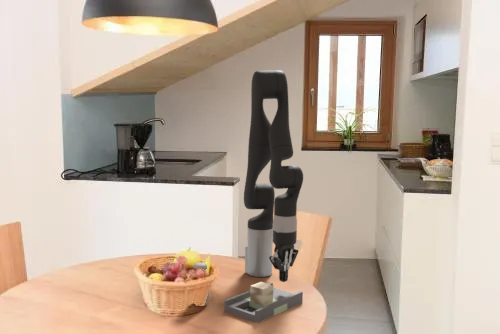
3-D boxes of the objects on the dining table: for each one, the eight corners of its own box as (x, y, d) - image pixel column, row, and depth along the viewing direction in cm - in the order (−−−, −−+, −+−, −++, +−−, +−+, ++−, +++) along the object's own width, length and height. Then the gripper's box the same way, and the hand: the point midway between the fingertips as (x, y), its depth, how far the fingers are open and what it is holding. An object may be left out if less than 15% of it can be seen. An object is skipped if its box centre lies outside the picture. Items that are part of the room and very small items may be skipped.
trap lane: (224, 311, 163) (224, 300, 163) (270, 292, 180) (270, 282, 179) (257, 323, 155) (257, 311, 154) (302, 302, 171) (302, 291, 171)
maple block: (250, 301, 166) (250, 285, 165) (260, 297, 170) (260, 281, 169) (262, 305, 163) (263, 289, 162) (273, 301, 166) (273, 285, 166)
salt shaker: (206, 308, 165) (206, 267, 163) (188, 306, 166) (188, 265, 165) (211, 301, 171) (211, 261, 169) (193, 300, 172) (194, 260, 170)
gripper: (287, 222, 179) (286, 273, 181) (262, 230, 169) (261, 283, 171) (306, 226, 174) (304, 278, 177) (281, 234, 164) (280, 289, 167)
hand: (283, 280), depth 174 cm, fingers closed
